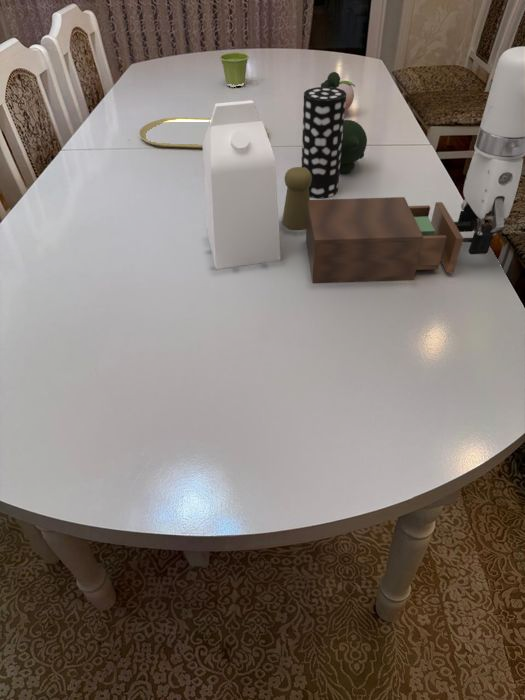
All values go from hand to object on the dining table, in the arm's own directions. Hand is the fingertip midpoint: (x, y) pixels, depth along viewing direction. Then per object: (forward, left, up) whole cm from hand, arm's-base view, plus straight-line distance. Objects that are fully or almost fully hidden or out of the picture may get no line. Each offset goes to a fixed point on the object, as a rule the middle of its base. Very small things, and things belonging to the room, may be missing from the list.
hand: (471, 241), depth 89 cm
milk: (+41, -5, -3) cm, 42 cm away
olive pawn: (+30, -14, -3) cm, 33 cm away
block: (+10, 0, -1) cm, 10 cm away
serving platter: (+52, -61, -3) cm, 80 cm away
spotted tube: (+24, -28, -3) cm, 37 cm away
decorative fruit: (+14, -74, -3) cm, 75 cm away
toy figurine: (+18, -43, -3) cm, 47 cm away
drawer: (+10, 0, -2) cm, 10 cm away
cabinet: (+20, 0, -3) cm, 20 cm away
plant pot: (+44, -105, -3) cm, 114 cm away
